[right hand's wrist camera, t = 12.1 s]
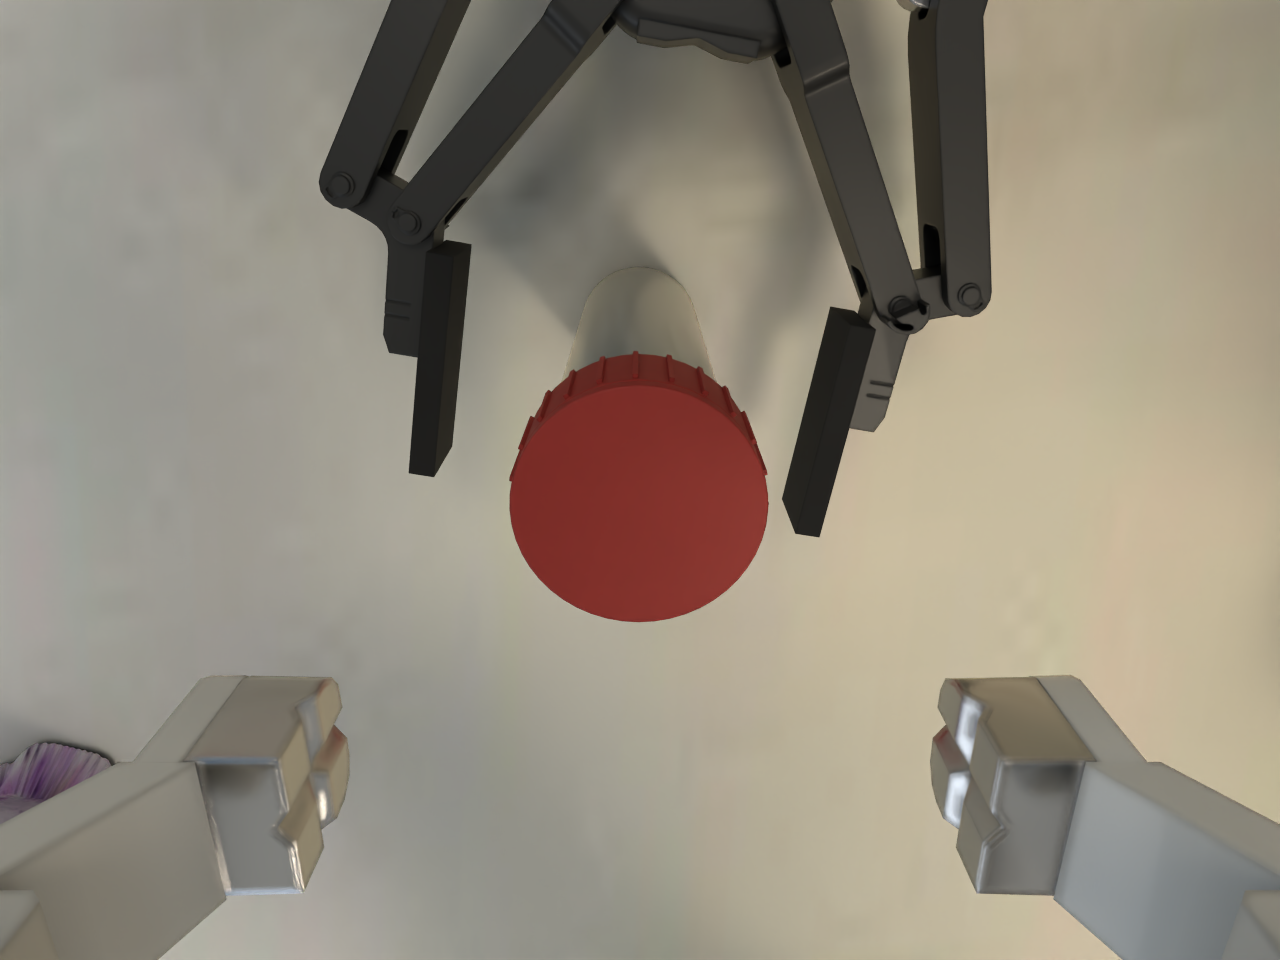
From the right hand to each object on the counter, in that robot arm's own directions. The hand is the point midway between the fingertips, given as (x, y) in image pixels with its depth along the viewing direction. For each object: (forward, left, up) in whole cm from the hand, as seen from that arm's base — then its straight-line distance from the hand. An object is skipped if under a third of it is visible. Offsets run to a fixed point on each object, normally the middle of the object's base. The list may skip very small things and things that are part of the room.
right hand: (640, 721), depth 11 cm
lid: (0, 0, -7) cm, 7 cm away
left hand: (0, +4, -17) cm, 17 cm away
